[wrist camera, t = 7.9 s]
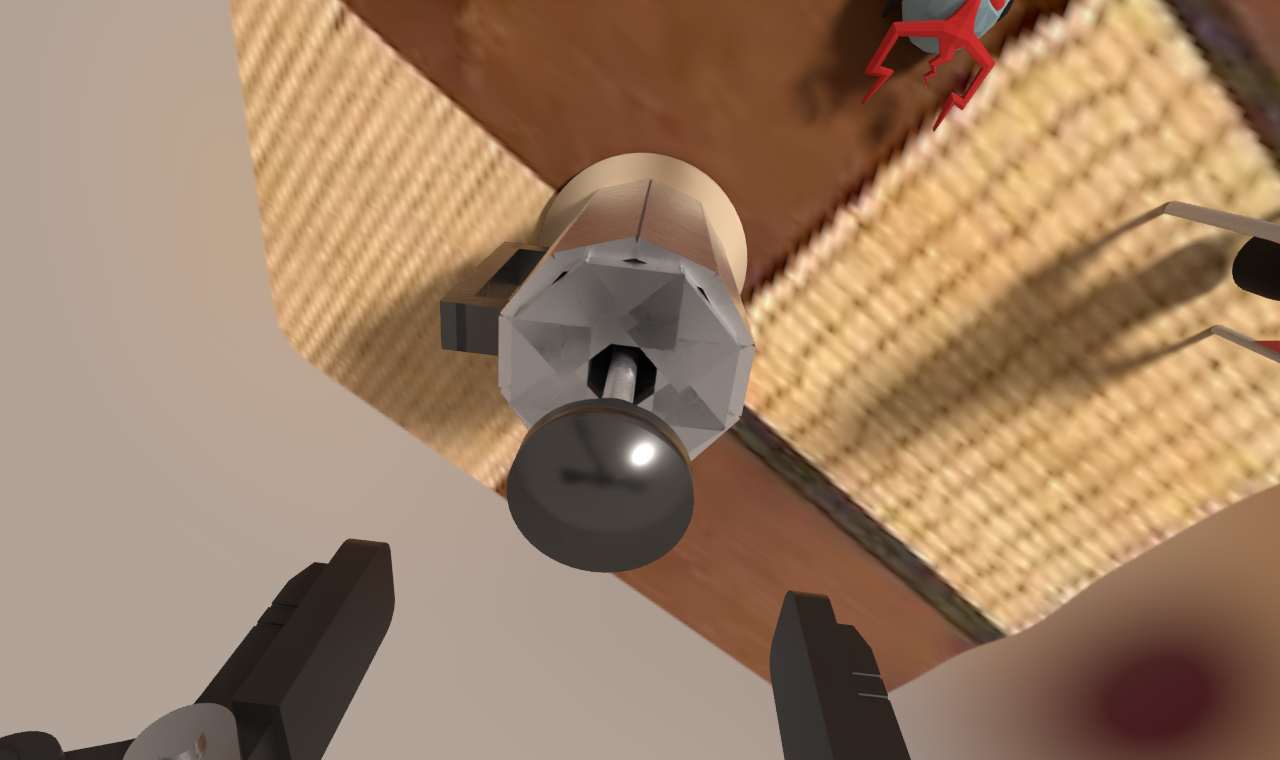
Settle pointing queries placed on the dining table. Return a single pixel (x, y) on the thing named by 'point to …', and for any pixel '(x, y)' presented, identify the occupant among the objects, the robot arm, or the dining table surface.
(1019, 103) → the dining table surface
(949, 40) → the toy
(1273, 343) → the toy
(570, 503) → the plunger
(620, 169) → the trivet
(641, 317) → the french press
